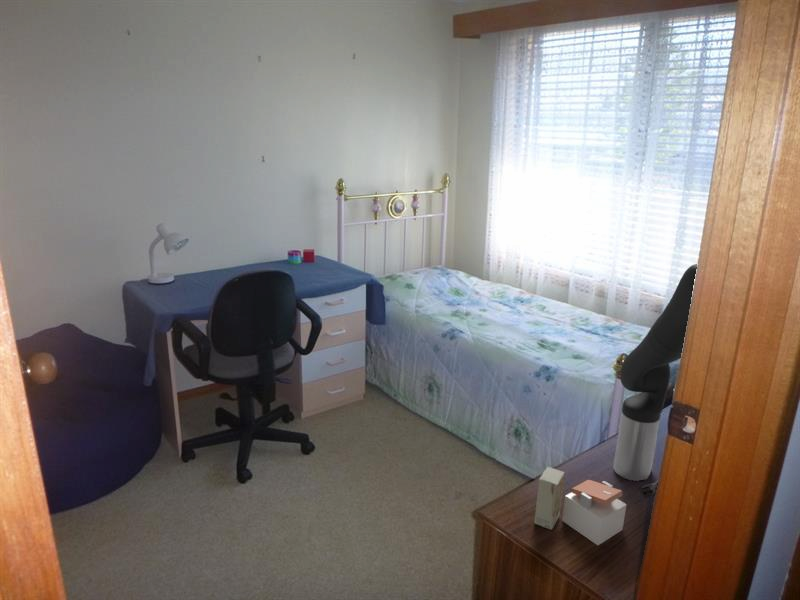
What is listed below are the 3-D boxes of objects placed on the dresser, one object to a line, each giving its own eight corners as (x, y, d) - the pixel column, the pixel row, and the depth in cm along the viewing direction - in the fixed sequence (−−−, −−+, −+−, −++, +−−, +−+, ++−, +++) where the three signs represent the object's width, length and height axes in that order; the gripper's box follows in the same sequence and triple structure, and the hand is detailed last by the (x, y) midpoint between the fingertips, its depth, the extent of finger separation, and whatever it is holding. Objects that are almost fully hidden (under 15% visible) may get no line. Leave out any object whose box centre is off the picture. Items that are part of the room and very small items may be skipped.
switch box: (586, 506, 144) (591, 472, 141) (622, 529, 137) (628, 494, 134) (562, 520, 139) (566, 485, 136) (597, 545, 132) (603, 508, 129)
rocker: (589, 488, 141) (588, 478, 140) (622, 500, 133) (621, 490, 133) (572, 497, 137) (571, 487, 137) (606, 510, 130) (605, 499, 130)
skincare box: (551, 530, 136) (557, 485, 132) (533, 524, 138) (538, 479, 134) (560, 515, 141) (565, 471, 137) (542, 508, 144) (547, 465, 140)
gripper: (718, 441, 117) (652, 464, 130) (682, 464, 109) (615, 486, 123) (740, 478, 114) (670, 497, 128) (705, 503, 107) (634, 521, 120)
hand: (643, 492), depth 125 cm, fingers closed
